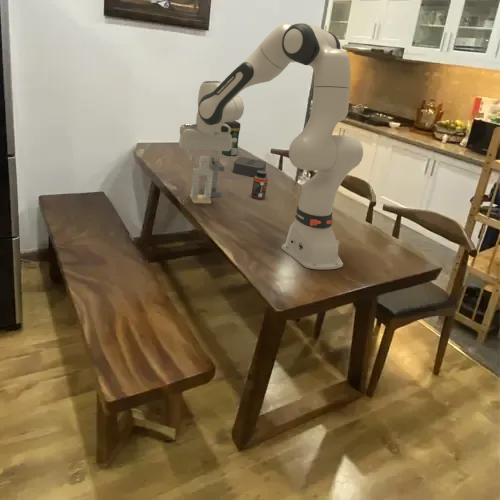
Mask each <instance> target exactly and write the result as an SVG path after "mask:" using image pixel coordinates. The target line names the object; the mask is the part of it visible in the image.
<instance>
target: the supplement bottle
mask: <svg viewBox="0 0 500 500" xmlns="http://www.w3.org/2000/svg"><path fill="white" fill-rule="evenodd" d="M268 180H269V178H268V176H267V171H266V170H265V171H257V175H256V176H254V177H253V181H252V189H251V198H254V199H256V200H257V199H258V200H263V199H265V198H266V193H267V186H268Z"/></svg>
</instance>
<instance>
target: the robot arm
mask: <svg viewBox="0 0 500 500" xmlns="http://www.w3.org/2000/svg"><path fill="white" fill-rule="evenodd" d="M292 61H293V62H296V63H297V64H298V63H299V64H301V65H304V66H311V68H312V69H313V72H314V73H313V74H314V78H313V79H314V81H313V91H312V92H313V93H312V100H311V102H312V103H311V109H310V113H309V114H310V115H309V118H308V121H307V122H306V124H305V126H304V128H303V129H302V131H301V132H300V133H299V134H298V135H297V136H296V137H295V138H293V140H292V141H291V143H290V144H289V148H288V157H289V161H290V163H291V164H292V166H293V167H294V168H296V169H300V170H303V171H304V170H305V171H316V172H315V173H314V174H313V176H312V177H311V178H309V179H308V180H306V181H305V182H304V183H303V185H302V187H301V191H300V197H299V202H298V206H297V207H296V209H295V214H294V215H295V216H294V218H295V219H294V221H293V222H292V223H291V224H290V225H289V228H288V232H287V237H286V239H285V240H286V241H285V243H283V244H282V245H281V249H282V251H284V252H285V253H287V254H288V255H289V256H290V257H292V258H293V259H294V260H295V261H297V262H298V263H299V264H301V265H302V266H304V267H305V268H307V269H313V270H334V269H340V268H342V267H344V262H343V261H342V259H341V257H340V256H339V246H340V240H339V239H337V238H336V235H335V232H334V231H333V227H332V226H333V224H334V220H333V212H332V211H333V207H334V204H335V199H336V196H337V192H338V190H339V188H340V186H341V185H342V183H343V181H344V180H345V178H346V177H347V175H349V173H351V171H352V170H353V169H355V168H357V167H358V166H359V165H360V163H361V162H362V160H363V157H364V148H363V145H362V143H361V141H360V140H359V139H358V138H355V137H352V136H349V135H346V134H345V135H342V134H340V135H337V134H333V133H334V130H335V128H336V127H337V125H338V123H340V122H342V121H343V120H345V119H346V117H347V116H348V113H349V106H350V104H349V103H350V96H351V95H350V94H351V80H352V75H351V72H352V71H351V70H352V69H351V68H352V67H351V59H350V56H349V54H348V53H347V52H346V51H345V50H342V48H341V42H340V40H339V38H338V37H337V36H336V35H335V34H333V32H330V31H328V30H324V29H323V28H321V27H320V26H317V25H311V24H307V23H295V24H291V23H287V22H284V23H281V24H280V25H279V26H277V27H276V28H275V29H274V30H272V31H271V32H270V33H269V34H268V35H267V36H266V37H265V39H264V40H262V42H260V44H259V45H258V46H257V47H256V49H255V50H254V51H253V52H252V53H251V54H250V55H249V56H248V57H247V58H246V59H244V61H242V62H241V63H240V64H239V66H237V67H236V68H235V69H234V70H233V71H232V72H230V74H228V76H226V77H225V79H224V80H223V81H222V82H221V81H218V80H209V81H208V80H207V81H203V82H202V83H201V85H200V87H199V91H198V96H197V97H198V98H197V113H196V118H195V123H184V124H181V126H180V127H179V140H178V146H179V148H181V149H182V150H187V152H188V154H189V160H190V161H193V162H194V161H195V160H196V156H195V155H193V154H192V153H193V150H194V151H195V150H197V151H217V154H216V156H214V162H218V158H219V159H220V157H221V155H222V154H223V153H222V151H230V150H231V148H232V136H231V134H230V132H231V128H230V127H229V126H228V125H227V124H225V122H232V121H239V120H240V119H241V118H242V116H243V114H244V108H245V107H244V102H243V101H242V99H241V97H240V96H238V94H240V93H241V92H242V91H243V90H245V89H246V88H247V89H248V88H249V87H251V86H254V85H258V84H263V83H268V82H270V81H272V80H274V79H275V78H276V77H278V76H279V75H280V74H281V73H282V72H283V71H284V70H285V69H286V68H287V66H289V64H290V63H291V62H292Z"/></svg>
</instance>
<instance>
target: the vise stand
mask: <svg viewBox="0 0 500 500" xmlns="http://www.w3.org/2000/svg"><path fill="white" fill-rule="evenodd" d="M216 155H217V154H216ZM216 155H214V154H213V155H212V154H210V156H209V166H208V169H212V170H213V180H212V189H211V198H222V197H223V192H222V190H221V189H220V188H219V186H217V185H218V184H217V182H218V174H219V172H225V166H224V164H222V162H220V157H219V158H218V162H214V156H216ZM204 189H205V185H201V186H200V191H201V193H202V195H204Z"/></svg>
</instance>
